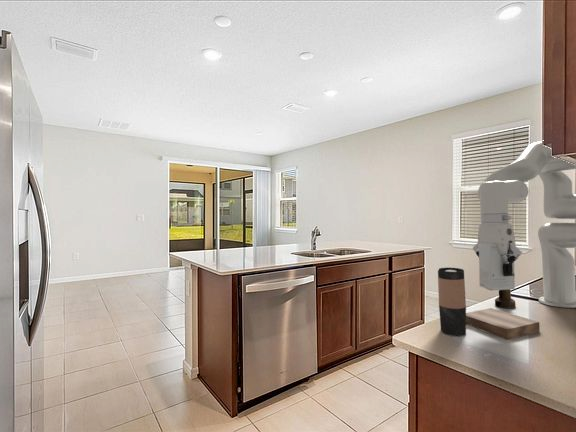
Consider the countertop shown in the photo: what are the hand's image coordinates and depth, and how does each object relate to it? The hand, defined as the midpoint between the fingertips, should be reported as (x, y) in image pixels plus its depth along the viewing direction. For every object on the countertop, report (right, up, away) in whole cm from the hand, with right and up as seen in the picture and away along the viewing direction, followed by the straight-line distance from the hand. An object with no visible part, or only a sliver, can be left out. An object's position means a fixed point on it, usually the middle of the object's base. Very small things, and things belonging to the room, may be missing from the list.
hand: (496, 273), depth 103 cm
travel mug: (-15, -19, -2) cm, 24 cm away
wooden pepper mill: (+17, -17, +21) cm, 32 cm away
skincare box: (0, -5, 0) cm, 5 cm away
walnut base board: (+1, -18, 0) cm, 18 cm away
